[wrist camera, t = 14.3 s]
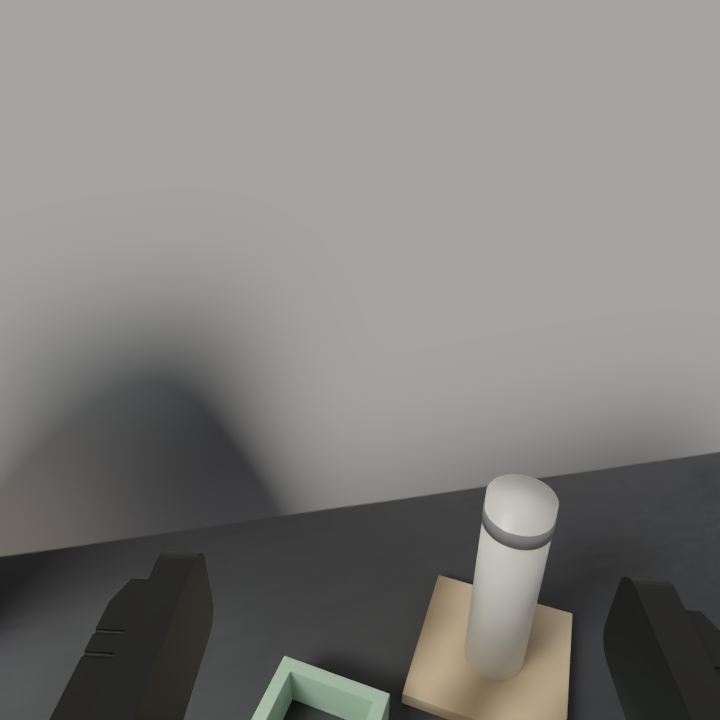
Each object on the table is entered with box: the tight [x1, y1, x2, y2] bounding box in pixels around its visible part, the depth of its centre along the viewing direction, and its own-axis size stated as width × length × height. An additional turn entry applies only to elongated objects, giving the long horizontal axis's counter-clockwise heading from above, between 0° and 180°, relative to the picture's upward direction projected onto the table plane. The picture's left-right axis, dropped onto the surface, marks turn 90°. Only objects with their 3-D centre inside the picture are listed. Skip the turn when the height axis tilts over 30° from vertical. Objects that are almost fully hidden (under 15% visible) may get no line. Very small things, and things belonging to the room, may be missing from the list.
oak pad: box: [402, 575, 572, 720], centre depth 40 cm, size 10×10×1 cm
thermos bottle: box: [464, 474, 559, 681], centre depth 36 cm, size 4×4×14 cm
